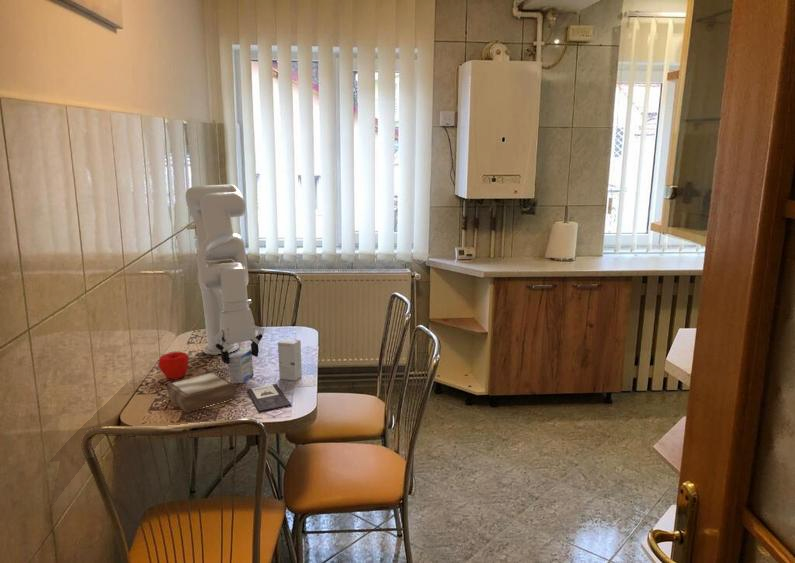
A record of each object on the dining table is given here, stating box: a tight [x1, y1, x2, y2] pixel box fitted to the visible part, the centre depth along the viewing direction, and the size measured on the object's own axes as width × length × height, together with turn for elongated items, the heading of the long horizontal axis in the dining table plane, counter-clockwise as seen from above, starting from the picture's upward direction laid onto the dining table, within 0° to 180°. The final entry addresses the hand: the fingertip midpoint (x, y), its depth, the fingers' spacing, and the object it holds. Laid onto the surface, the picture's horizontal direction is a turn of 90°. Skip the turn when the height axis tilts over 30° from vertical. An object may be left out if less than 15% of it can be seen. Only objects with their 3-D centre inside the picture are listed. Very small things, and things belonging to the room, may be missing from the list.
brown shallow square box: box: [167, 371, 235, 414], centre depth 173 cm, size 14×14×5 cm
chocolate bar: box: [246, 383, 292, 413], centre depth 173 cm, size 9×1×18 cm
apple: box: [158, 351, 189, 380], centre depth 192 cm, size 9×9×8 cm
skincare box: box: [277, 338, 303, 381], centre depth 187 cm, size 6×4×12 cm
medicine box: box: [227, 349, 254, 384], centre depth 188 cm, size 8×4×9 cm, turn 169°
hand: (240, 359), depth 187 cm, fingers open, 9 cm apart
